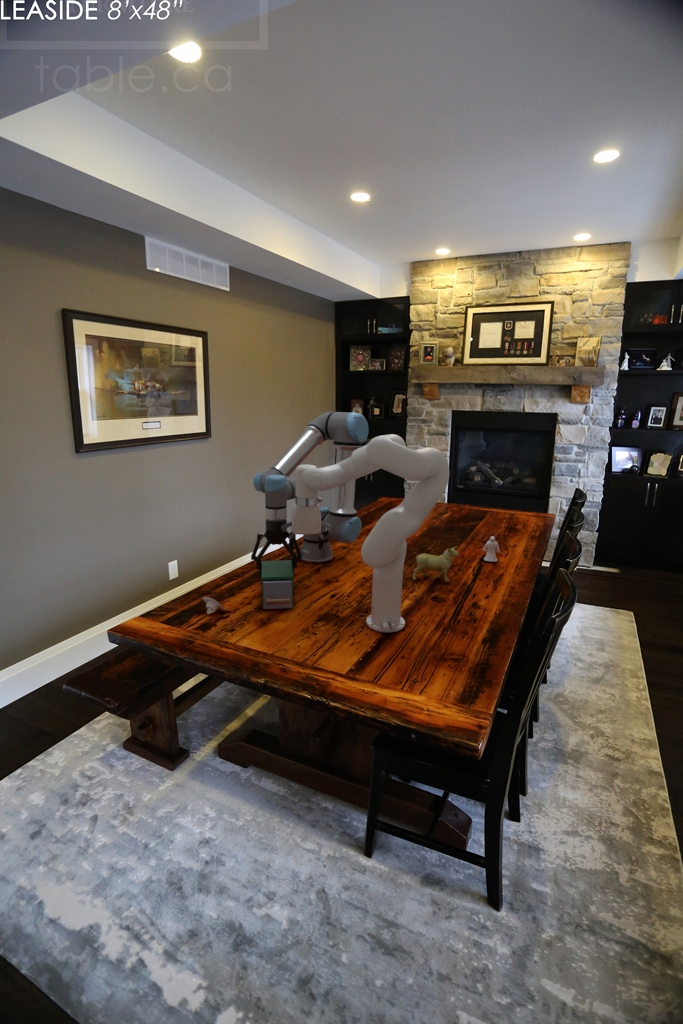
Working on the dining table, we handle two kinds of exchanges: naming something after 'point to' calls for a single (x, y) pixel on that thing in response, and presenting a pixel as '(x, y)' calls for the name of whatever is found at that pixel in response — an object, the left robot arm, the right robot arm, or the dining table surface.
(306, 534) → the left robot arm
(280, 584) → the drawer
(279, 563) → the cabinet
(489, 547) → the figurine
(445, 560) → the toy
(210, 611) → the seashell
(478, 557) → the dining table surface
